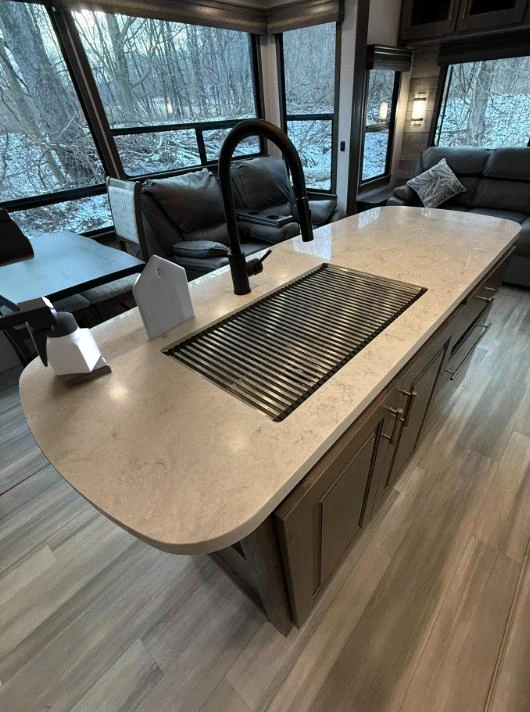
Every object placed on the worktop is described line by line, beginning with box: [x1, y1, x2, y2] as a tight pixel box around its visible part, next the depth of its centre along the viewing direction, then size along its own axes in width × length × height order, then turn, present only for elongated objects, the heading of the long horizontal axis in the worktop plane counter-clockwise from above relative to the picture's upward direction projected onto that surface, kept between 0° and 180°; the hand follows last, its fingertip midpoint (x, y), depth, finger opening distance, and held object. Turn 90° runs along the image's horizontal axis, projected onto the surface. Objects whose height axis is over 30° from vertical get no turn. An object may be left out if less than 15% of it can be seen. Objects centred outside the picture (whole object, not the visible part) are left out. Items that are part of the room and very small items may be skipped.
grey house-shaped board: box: [131, 254, 196, 341], centre depth 87 cm, size 16×8×19 cm, turn 149°
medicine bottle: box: [46, 311, 102, 376], centre depth 70 cm, size 7×7×12 cm
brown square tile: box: [60, 355, 113, 390], centre depth 75 cm, size 9×9×2 cm
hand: (13, 377), depth 52 cm, fingers open, 9 cm apart
